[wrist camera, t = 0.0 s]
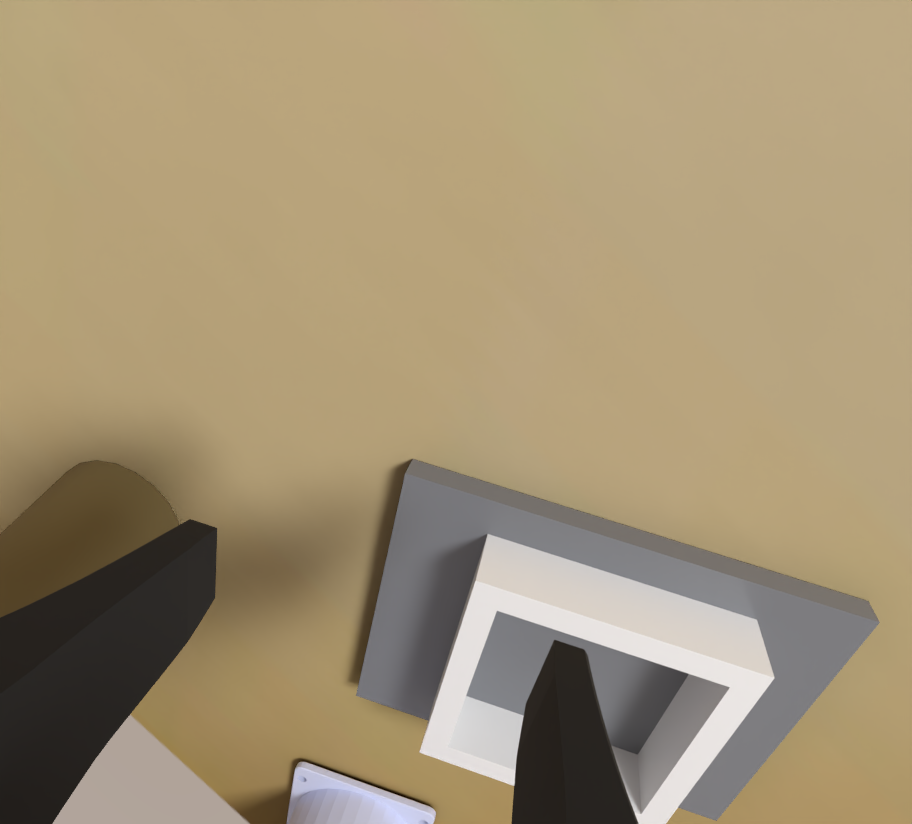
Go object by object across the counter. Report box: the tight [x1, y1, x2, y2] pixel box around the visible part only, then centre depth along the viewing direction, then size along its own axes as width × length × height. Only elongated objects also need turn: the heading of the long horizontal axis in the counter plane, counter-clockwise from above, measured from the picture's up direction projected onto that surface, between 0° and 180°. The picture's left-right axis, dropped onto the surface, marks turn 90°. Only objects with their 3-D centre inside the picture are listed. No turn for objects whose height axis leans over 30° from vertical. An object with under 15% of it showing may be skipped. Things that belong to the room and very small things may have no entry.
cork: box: [0, 461, 179, 617], centre depth 23 cm, size 6×6×11 cm
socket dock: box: [356, 459, 880, 824], centre depth 24 cm, size 13×17×4 cm
